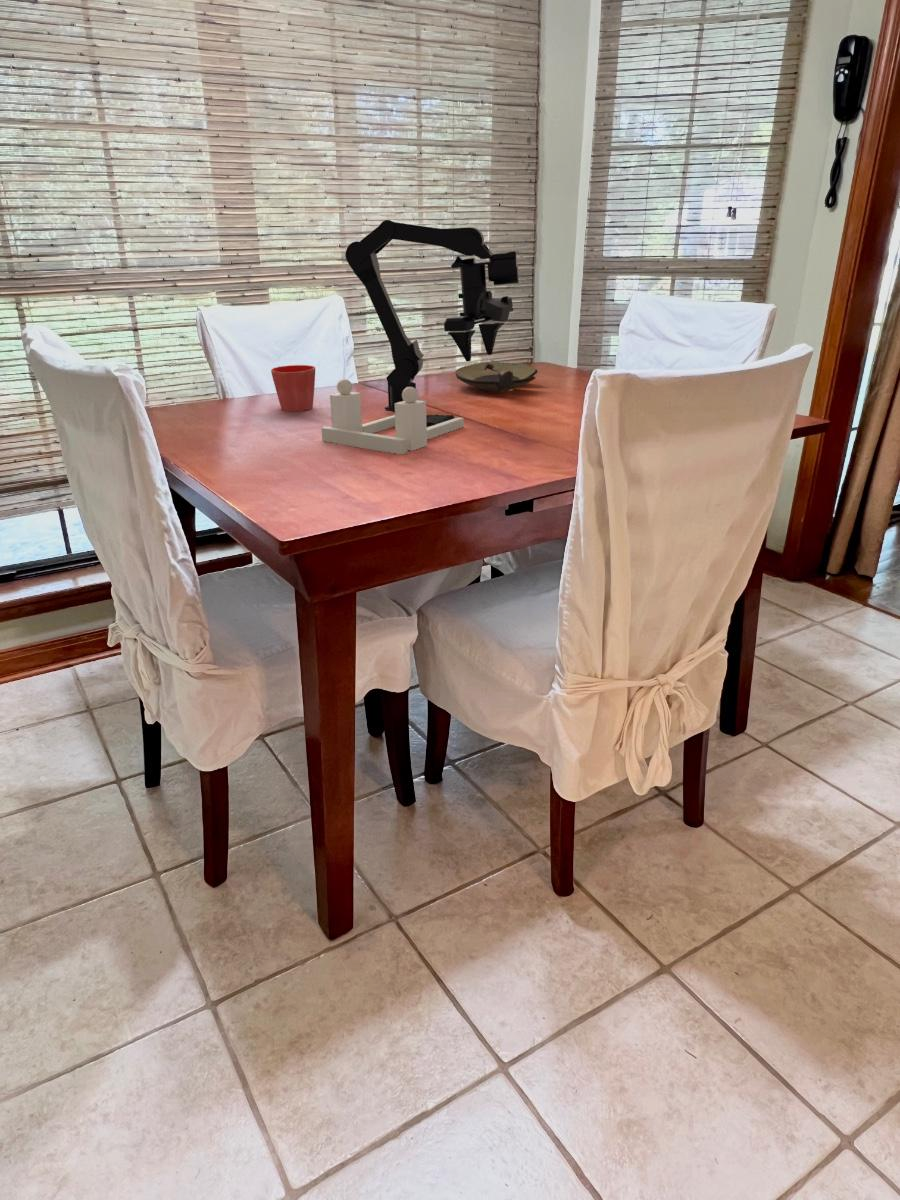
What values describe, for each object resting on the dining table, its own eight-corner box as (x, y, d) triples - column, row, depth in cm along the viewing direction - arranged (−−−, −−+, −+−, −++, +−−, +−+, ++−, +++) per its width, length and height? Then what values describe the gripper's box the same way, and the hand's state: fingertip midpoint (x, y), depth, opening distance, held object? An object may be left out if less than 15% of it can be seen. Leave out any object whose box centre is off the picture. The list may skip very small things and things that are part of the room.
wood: (426, 418, 191) (425, 405, 190) (456, 419, 189) (455, 406, 188) (390, 440, 172) (390, 425, 171) (423, 442, 170) (423, 427, 169)
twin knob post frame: (322, 441, 170) (317, 382, 165) (399, 417, 190) (397, 365, 185) (402, 454, 159) (399, 392, 154) (474, 428, 179) (475, 372, 174)
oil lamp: (543, 382, 231) (544, 354, 228) (526, 402, 205) (527, 371, 201) (466, 379, 236) (466, 352, 233) (440, 399, 210) (439, 369, 207)
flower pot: (266, 411, 198) (261, 370, 194) (290, 402, 207) (286, 363, 203) (303, 414, 195) (299, 372, 190) (326, 405, 204) (323, 365, 200)
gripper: (481, 290, 174) (486, 365, 180) (525, 281, 188) (528, 351, 194) (439, 292, 180) (445, 364, 187) (484, 284, 194) (489, 351, 200)
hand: (479, 358), depth 192 cm, fingers open, 9 cm apart
